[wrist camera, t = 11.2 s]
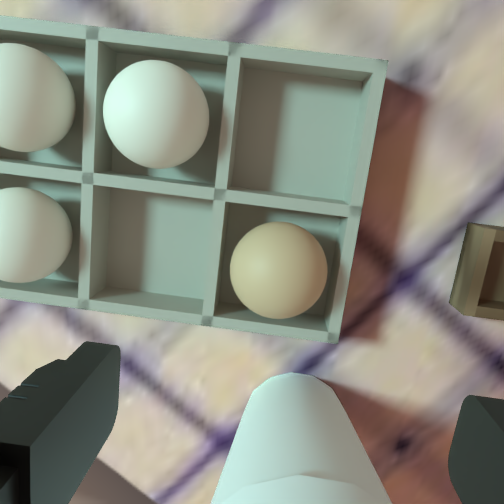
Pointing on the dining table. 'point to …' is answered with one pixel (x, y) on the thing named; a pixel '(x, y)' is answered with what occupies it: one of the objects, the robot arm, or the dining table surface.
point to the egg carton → (201, 176)
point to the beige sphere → (278, 270)
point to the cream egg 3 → (156, 114)
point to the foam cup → (297, 450)
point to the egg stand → (480, 273)
